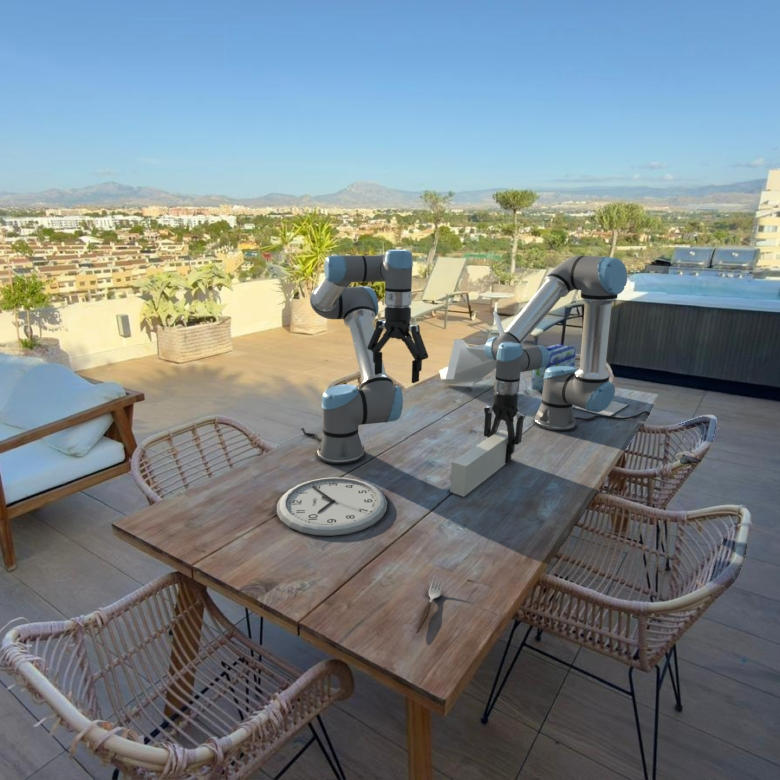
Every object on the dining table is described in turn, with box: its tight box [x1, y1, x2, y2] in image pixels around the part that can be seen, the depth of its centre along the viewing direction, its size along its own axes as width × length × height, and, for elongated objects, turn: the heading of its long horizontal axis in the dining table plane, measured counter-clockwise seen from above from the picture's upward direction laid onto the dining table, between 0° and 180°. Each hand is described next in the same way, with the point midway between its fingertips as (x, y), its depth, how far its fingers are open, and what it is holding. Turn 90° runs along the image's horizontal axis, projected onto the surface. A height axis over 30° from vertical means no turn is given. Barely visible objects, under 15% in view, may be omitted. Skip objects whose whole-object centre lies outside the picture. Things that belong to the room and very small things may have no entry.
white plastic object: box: [438, 310, 531, 397], centre depth 245 cm, size 37×45×31 cm
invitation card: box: [573, 400, 629, 416], centre depth 226 cm, size 21×1×15 cm
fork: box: [416, 574, 445, 635], centre depth 104 cm, size 3×16×2 cm, turn 160°
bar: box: [449, 429, 513, 498], centre depth 161 cm, size 32×5×10 cm, turn 143°
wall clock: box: [276, 476, 388, 537], centre depth 142 cm, size 30×2×30 cm
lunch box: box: [530, 344, 577, 392], centre depth 247 cm, size 26×11×21 cm, turn 134°
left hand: (396, 377), depth 155 cm, fingers open, 13 cm apart
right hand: (500, 459), depth 171 cm, fingers closed on bar, 5 cm apart
